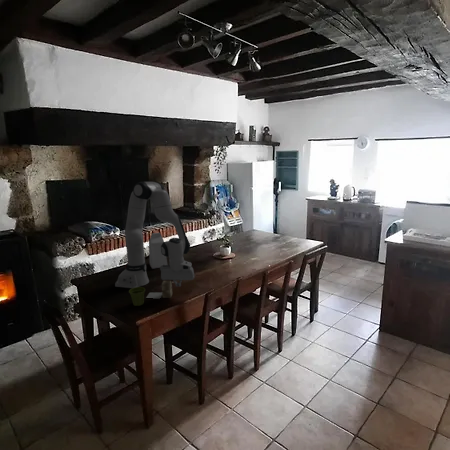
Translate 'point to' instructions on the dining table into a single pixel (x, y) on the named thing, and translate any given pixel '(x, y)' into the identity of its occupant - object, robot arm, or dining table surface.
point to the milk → (156, 251)
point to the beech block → (167, 289)
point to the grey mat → (154, 295)
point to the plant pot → (137, 295)
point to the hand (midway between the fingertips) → (178, 286)
